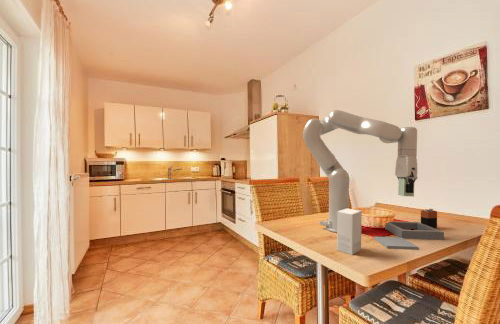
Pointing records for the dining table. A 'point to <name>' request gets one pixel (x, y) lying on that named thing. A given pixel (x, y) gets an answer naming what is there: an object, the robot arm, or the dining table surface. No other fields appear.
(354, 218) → the skincare box
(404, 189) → the green box
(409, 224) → the grey square frame
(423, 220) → the battery
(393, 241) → the mat
